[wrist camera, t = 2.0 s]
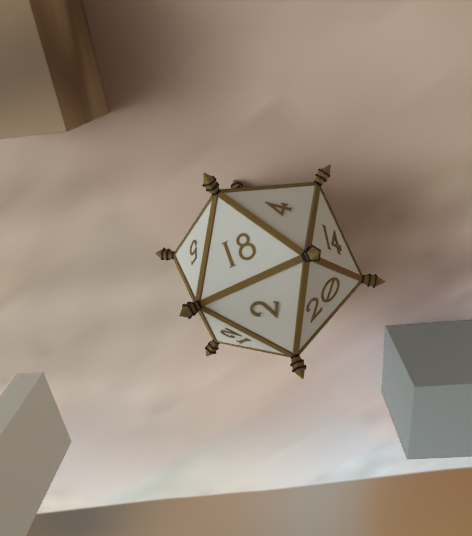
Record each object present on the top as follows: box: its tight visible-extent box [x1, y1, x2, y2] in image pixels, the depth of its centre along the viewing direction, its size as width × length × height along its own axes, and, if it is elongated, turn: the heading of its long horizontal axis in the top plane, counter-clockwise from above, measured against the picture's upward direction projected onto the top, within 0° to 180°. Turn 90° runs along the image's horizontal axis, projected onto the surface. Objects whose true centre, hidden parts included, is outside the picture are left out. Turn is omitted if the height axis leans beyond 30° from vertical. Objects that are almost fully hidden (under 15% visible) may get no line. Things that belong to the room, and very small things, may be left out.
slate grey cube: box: [382, 320, 472, 459], centre depth 23 cm, size 5×5×5 cm
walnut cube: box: [0, 0, 109, 139], centre depth 16 cm, size 5×5×5 cm
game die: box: [156, 164, 385, 379], centre depth 18 cm, size 9×8×10 cm
